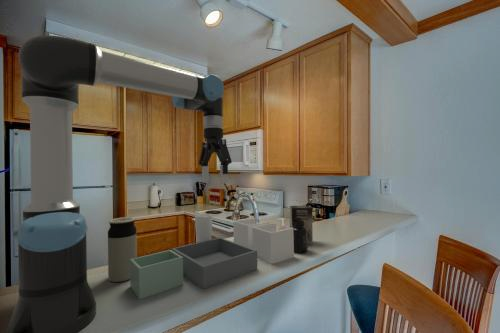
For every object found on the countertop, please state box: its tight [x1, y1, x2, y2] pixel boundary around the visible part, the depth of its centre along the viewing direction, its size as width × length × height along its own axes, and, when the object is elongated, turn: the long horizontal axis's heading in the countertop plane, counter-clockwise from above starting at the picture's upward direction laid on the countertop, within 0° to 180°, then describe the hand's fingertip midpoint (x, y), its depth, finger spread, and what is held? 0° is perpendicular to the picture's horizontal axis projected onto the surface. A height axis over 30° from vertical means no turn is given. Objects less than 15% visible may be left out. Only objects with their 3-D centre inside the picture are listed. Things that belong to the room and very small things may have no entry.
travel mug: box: [107, 216, 138, 283], centre depth 77 cm, size 8×8×18 cm
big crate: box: [171, 237, 258, 290], centre depth 83 cm, size 20×22×6 cm
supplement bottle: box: [291, 220, 309, 254], centre depth 98 cm, size 7×7×12 cm
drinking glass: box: [194, 213, 213, 243], centre depth 98 cm, size 7×7×15 cm
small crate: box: [129, 249, 184, 300], centre depth 71 cm, size 12×9×8 cm
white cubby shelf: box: [232, 217, 295, 265], centre depth 98 cm, size 25×11×11 cm, turn 35°
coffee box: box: [289, 205, 314, 246], centre depth 108 cm, size 9×6×16 cm
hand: (214, 182), depth 96 cm, fingers open, 13 cm apart
